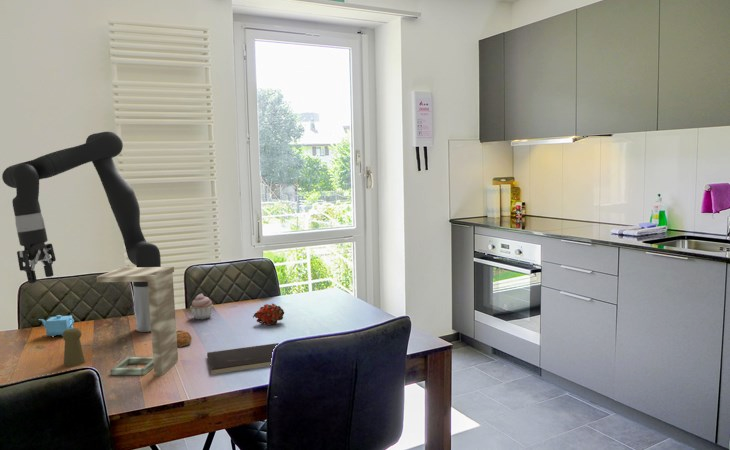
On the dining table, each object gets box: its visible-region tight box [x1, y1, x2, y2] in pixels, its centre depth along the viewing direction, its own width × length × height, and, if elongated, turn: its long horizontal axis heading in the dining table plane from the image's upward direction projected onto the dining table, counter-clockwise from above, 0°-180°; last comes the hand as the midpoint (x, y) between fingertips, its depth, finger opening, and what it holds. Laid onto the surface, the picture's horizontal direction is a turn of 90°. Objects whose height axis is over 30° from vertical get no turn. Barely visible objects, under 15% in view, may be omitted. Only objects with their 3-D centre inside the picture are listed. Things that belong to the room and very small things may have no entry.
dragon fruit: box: [252, 303, 285, 326], centre depth 210 cm, size 8×8×12 cm
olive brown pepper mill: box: [62, 327, 86, 367], centre depth 172 cm, size 6×6×11 cm
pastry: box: [176, 329, 193, 348], centre depth 190 cm, size 9×7×4 cm
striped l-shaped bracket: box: [96, 266, 179, 377], centre depth 165 cm, size 17×14×30 cm
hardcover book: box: [206, 342, 280, 375], centre depth 171 cm, size 16×23×2 cm
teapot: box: [38, 314, 75, 337], centre depth 202 cm, size 12×6×8 cm, turn 102°
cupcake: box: [189, 293, 214, 320], centre depth 221 cm, size 9×9×10 cm
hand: (41, 279), depth 171 cm, fingers open, 8 cm apart
